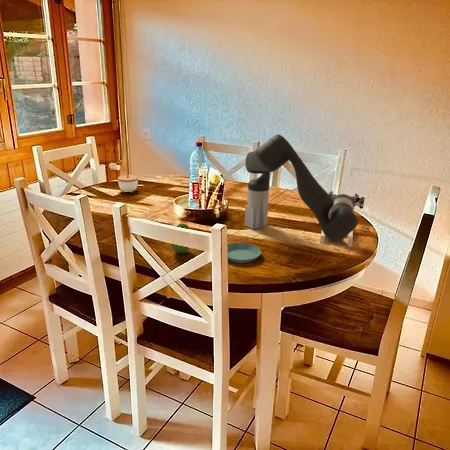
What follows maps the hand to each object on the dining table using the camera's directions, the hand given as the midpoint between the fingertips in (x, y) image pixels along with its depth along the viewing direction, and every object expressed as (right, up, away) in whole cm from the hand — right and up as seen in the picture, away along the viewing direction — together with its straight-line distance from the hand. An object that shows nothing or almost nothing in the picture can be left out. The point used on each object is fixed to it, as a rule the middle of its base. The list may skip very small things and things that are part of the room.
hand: (343, 195), depth 153 cm
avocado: (-60, -22, +7) cm, 64 cm away
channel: (+4, -16, +25) cm, 30 cm away
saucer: (-37, -23, +5) cm, 44 cm away
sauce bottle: (+2, -18, +20) cm, 27 cm away
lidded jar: (-97, +8, +78) cm, 125 cm away
